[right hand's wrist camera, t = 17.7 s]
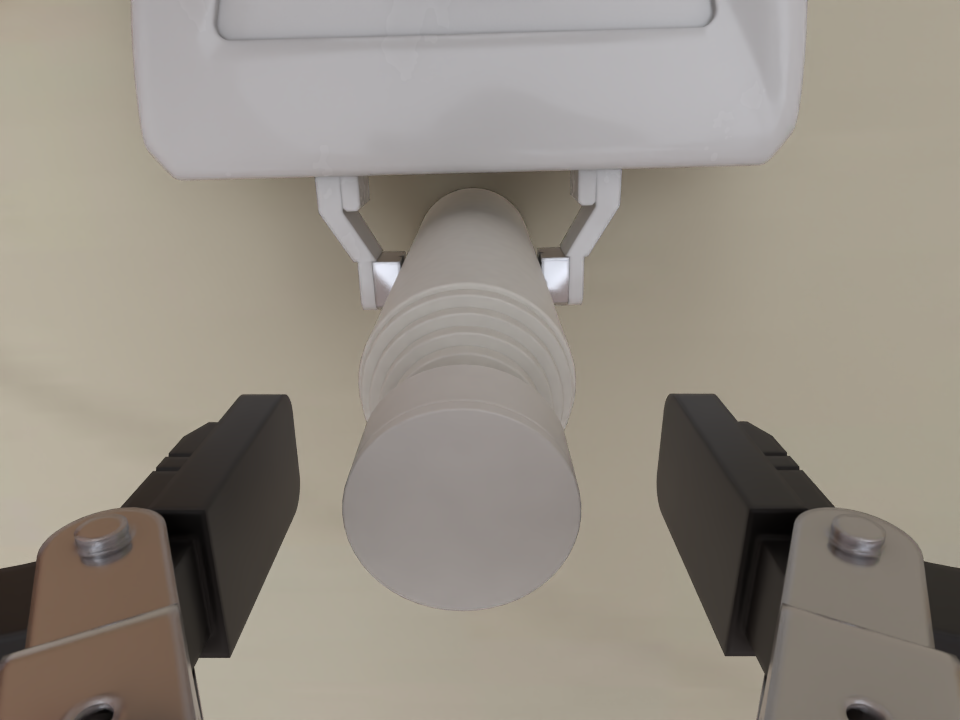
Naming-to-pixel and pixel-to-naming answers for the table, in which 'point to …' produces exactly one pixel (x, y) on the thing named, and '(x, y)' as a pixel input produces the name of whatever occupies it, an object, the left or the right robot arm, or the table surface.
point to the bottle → (470, 305)
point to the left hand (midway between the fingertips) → (473, 303)
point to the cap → (462, 490)
